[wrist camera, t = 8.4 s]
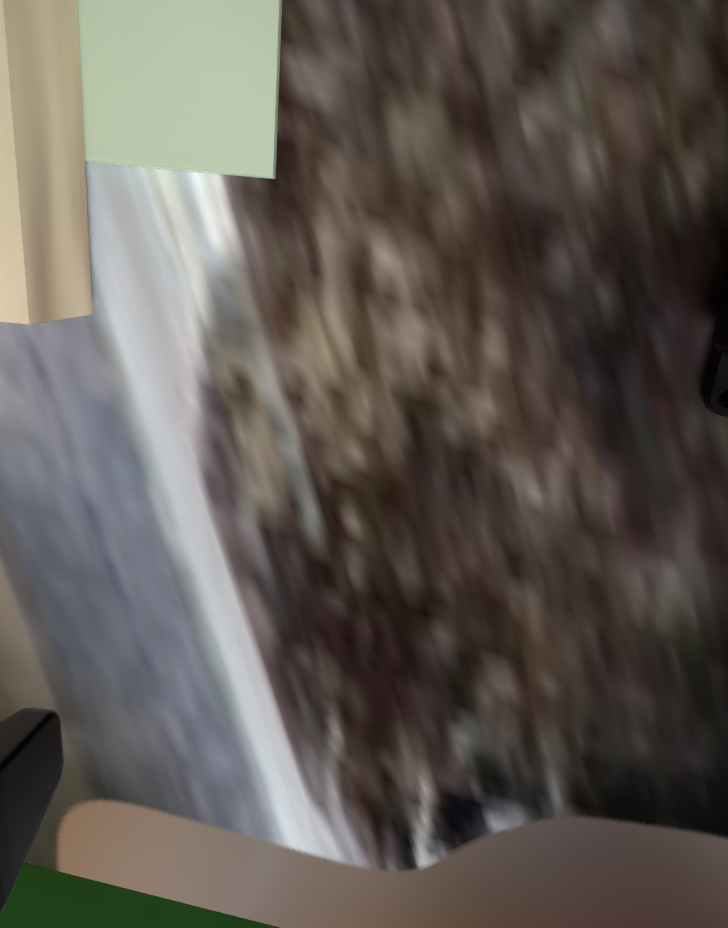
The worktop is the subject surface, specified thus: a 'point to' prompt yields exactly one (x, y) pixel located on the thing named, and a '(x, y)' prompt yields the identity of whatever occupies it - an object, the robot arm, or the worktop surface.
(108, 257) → the worktop surface
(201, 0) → the sage swatch
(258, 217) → the worktop surface
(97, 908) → the hardback book
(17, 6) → the beech block
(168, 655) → the worktop surface
